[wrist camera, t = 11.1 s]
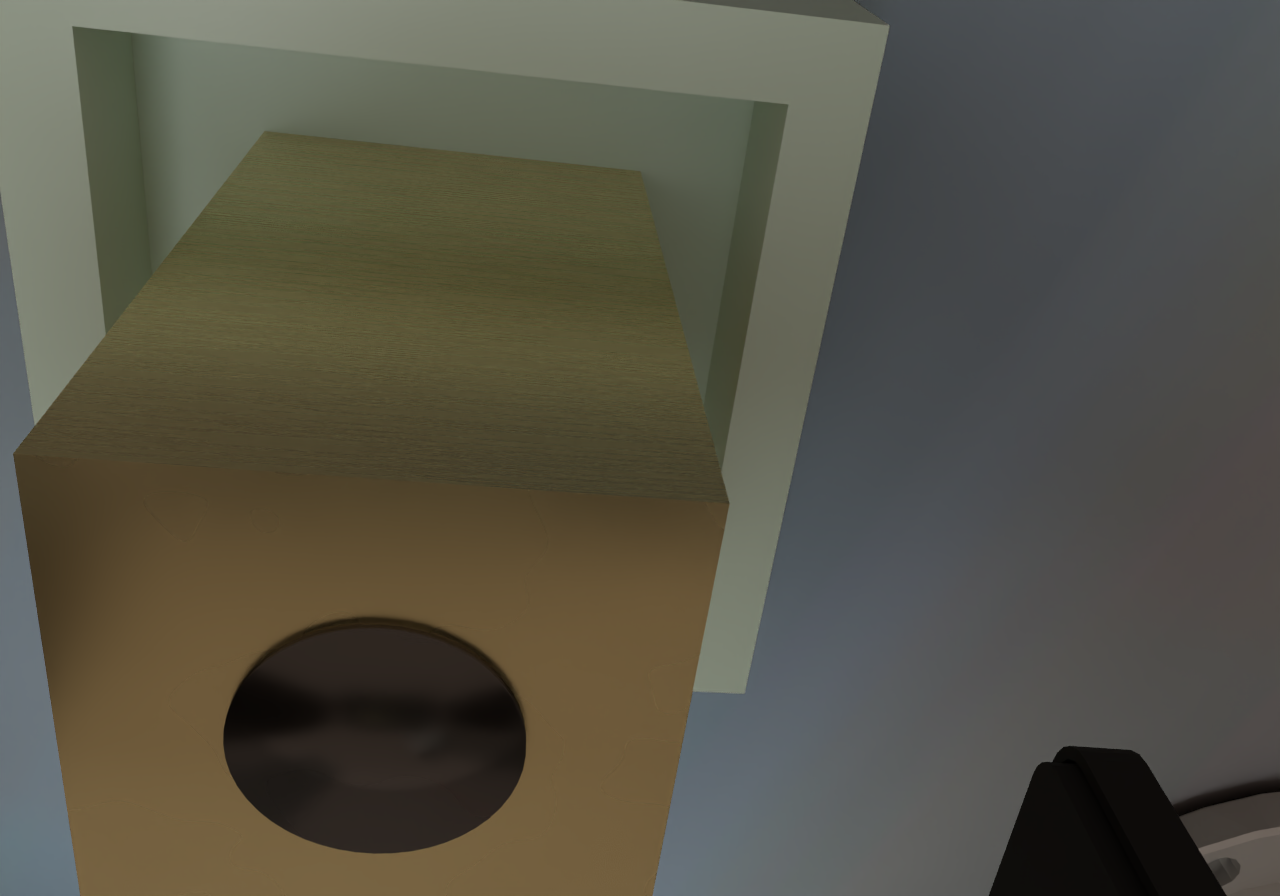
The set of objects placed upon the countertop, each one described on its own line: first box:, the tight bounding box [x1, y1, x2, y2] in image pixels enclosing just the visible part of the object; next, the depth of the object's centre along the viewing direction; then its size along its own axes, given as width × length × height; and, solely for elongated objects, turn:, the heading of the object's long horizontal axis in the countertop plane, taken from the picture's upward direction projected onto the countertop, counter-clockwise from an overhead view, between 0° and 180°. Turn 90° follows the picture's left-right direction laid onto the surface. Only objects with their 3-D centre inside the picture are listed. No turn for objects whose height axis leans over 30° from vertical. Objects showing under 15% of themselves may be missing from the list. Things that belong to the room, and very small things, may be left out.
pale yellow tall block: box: [13, 131, 730, 896], centre depth 13 cm, size 5×5×9 cm
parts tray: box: [0, 0, 890, 694], centre depth 16 cm, size 10×10×2 cm
